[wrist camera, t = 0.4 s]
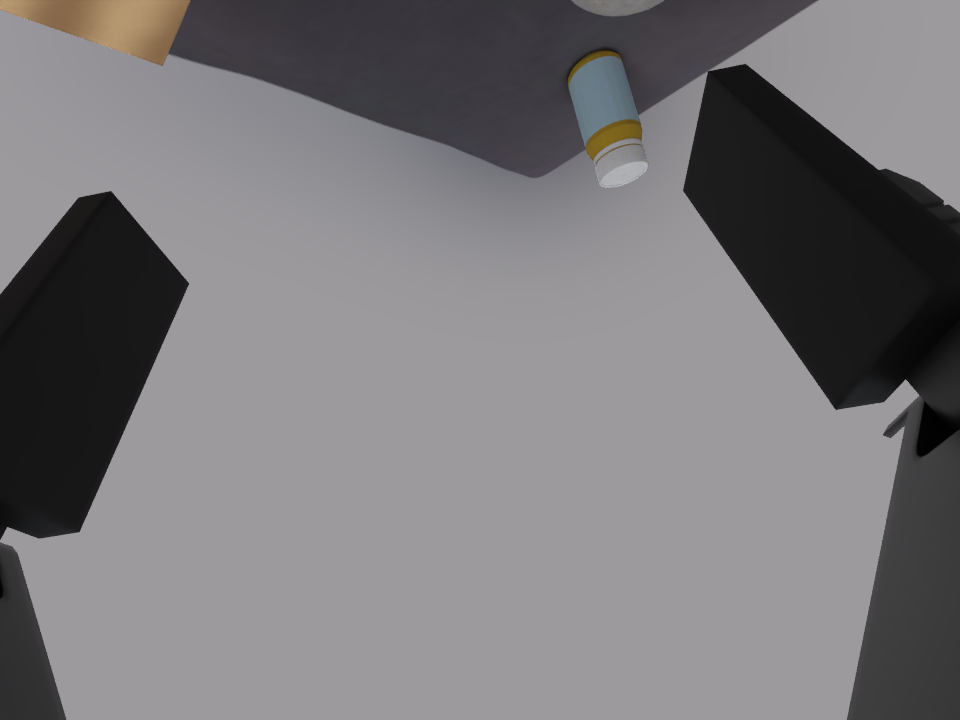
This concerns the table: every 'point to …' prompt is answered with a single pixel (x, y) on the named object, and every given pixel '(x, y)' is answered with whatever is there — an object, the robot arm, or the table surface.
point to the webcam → (616, 6)
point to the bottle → (608, 118)
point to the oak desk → (110, 22)
